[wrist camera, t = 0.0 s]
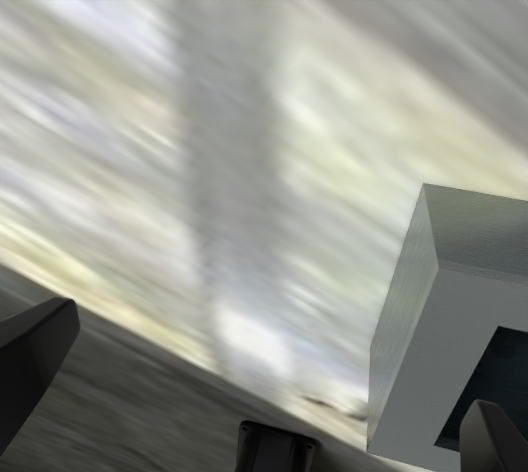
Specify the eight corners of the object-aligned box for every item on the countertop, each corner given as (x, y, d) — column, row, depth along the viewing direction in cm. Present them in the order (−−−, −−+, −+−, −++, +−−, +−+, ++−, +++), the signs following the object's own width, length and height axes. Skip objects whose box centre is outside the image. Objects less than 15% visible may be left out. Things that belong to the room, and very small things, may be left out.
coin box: (531, 385, 26) (576, 510, 20) (370, 347, 28) (366, 452, 22) (642, 221, 20) (759, 332, 14) (423, 183, 21) (439, 268, 15)
